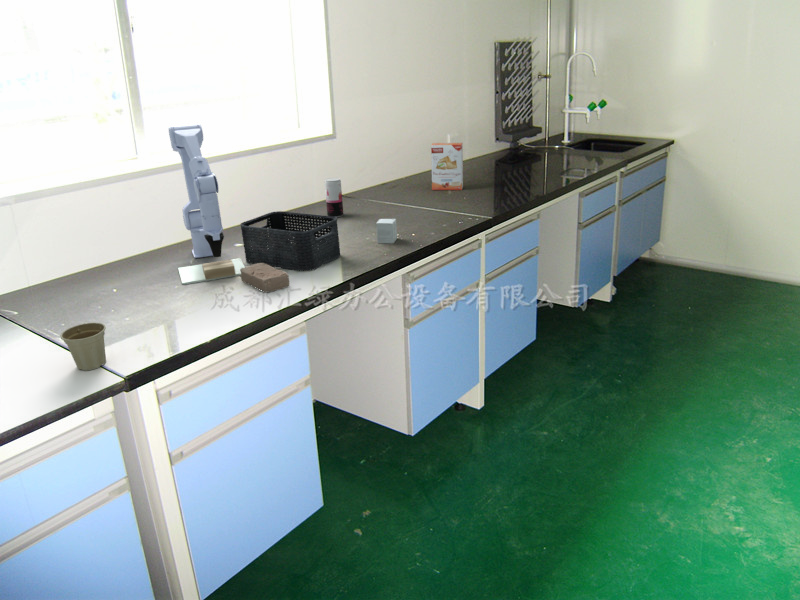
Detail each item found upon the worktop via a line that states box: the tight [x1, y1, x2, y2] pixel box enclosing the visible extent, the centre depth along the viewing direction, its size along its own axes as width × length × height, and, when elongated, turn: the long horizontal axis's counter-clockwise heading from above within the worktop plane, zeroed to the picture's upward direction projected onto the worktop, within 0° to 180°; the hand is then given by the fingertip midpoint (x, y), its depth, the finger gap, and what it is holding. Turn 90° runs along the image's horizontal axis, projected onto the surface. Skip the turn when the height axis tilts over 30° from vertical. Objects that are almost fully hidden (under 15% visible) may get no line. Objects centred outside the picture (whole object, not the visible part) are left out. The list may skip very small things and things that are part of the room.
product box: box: [375, 218, 398, 244], centre depth 231 cm, size 6×6×7 cm
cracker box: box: [430, 142, 464, 191], centre depth 301 cm, size 14×6×21 cm, turn 81°
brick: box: [240, 263, 290, 293], centre depth 196 cm, size 17×8×5 cm, turn 39°
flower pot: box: [60, 322, 107, 371], centre depth 150 cm, size 9×9×9 cm
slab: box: [201, 259, 236, 280], centre depth 205 cm, size 3×9×7 cm
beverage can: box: [324, 177, 344, 218], centre depth 266 cm, size 6×7×15 cm
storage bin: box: [240, 210, 341, 272], centre depth 216 cm, size 29×19×13 cm
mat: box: [177, 257, 246, 285], centre depth 209 cm, size 16×20×1 cm
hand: (217, 256), depth 207 cm, fingers closed
